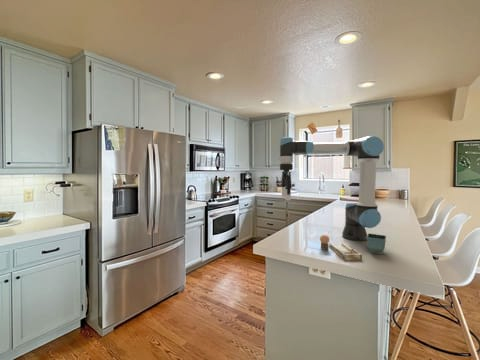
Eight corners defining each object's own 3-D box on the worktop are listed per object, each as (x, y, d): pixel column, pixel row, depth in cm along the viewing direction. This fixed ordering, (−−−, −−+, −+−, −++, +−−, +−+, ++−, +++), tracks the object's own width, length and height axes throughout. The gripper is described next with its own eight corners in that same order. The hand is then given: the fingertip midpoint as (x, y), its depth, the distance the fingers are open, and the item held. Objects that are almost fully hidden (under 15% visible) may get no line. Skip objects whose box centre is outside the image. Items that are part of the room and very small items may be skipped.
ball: (327, 242, 140) (327, 233, 140) (330, 245, 135) (330, 236, 135) (318, 242, 140) (318, 233, 140) (321, 245, 135) (321, 236, 135)
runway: (342, 246, 143) (342, 242, 143) (352, 253, 131) (352, 249, 131) (329, 246, 143) (329, 242, 143) (337, 253, 131) (337, 249, 131)
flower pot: (385, 256, 127) (385, 239, 127) (366, 253, 132) (366, 236, 131) (385, 251, 135) (386, 235, 134) (367, 248, 139) (368, 233, 139)
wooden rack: (353, 253, 131) (353, 248, 131) (361, 259, 122) (362, 254, 122) (336, 253, 131) (336, 248, 131) (343, 260, 122) (343, 254, 122)
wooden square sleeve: (326, 248, 140) (326, 242, 140) (328, 250, 136) (328, 244, 136) (320, 248, 140) (320, 242, 139) (322, 250, 136) (322, 244, 136)
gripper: (276, 163, 158) (276, 196, 159) (283, 163, 133) (283, 201, 135) (288, 163, 158) (288, 196, 159) (297, 163, 134) (297, 201, 135)
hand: (285, 198), depth 147 cm, fingers open, 13 cm apart
